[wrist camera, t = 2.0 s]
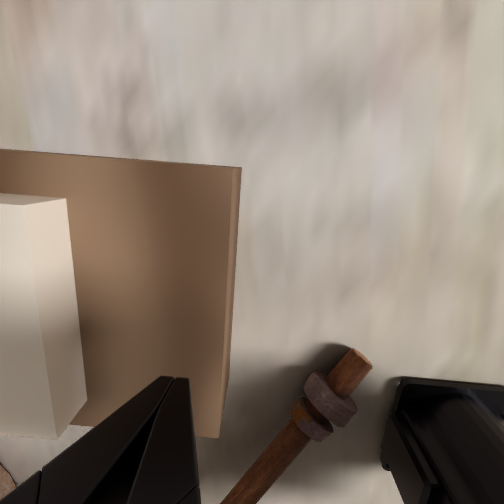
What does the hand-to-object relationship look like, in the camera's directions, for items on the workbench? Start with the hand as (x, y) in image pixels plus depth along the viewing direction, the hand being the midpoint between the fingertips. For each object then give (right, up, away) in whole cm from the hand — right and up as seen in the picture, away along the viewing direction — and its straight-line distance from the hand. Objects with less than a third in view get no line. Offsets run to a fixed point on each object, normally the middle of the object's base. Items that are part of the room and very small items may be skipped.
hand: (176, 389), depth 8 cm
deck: (-7, +3, +7) cm, 11 cm away
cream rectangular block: (-8, +2, +4) cm, 9 cm away
